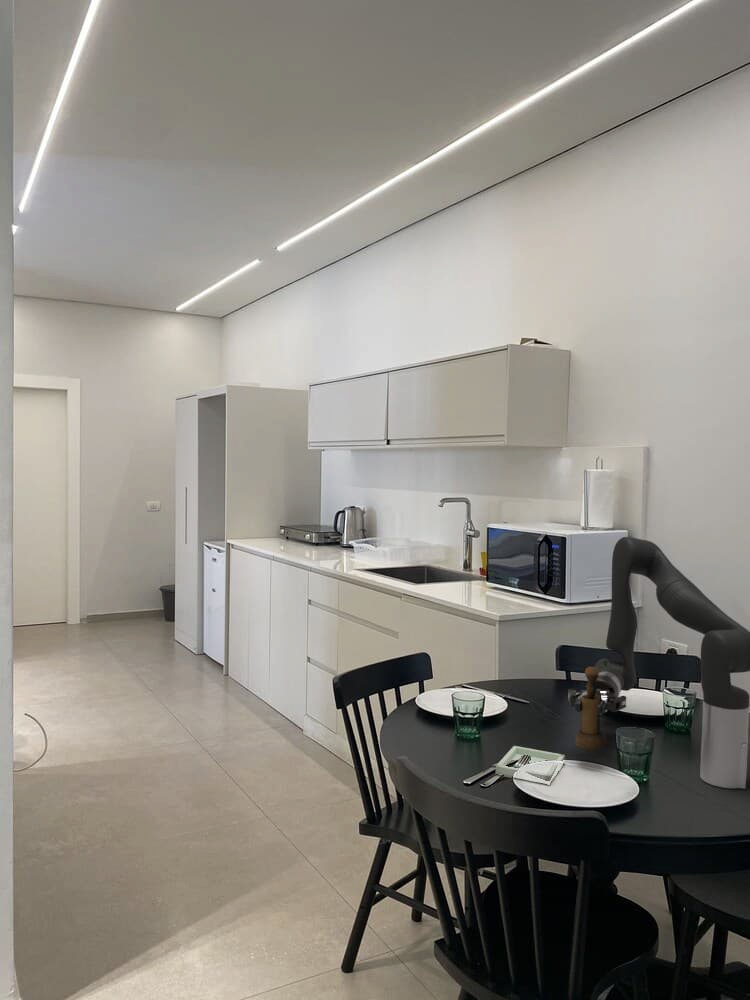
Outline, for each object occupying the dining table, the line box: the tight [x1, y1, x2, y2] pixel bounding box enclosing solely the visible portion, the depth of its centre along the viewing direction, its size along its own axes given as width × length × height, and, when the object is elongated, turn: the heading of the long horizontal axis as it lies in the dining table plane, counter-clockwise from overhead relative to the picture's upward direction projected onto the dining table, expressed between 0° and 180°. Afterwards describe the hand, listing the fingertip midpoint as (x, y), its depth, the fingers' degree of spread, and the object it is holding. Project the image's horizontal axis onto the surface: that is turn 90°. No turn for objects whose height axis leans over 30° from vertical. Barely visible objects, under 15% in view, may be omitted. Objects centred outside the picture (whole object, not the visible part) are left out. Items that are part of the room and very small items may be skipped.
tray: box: [495, 745, 566, 781], centre depth 182 cm, size 12×14×2 cm
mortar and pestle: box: [575, 666, 606, 751], centre depth 184 cm, size 7×6×18 cm
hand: (588, 709), depth 181 cm, fingers closed on mortar and pestle, 4 cm apart
